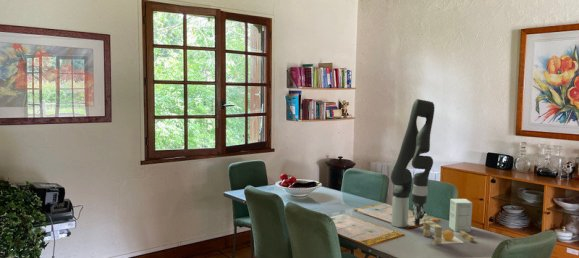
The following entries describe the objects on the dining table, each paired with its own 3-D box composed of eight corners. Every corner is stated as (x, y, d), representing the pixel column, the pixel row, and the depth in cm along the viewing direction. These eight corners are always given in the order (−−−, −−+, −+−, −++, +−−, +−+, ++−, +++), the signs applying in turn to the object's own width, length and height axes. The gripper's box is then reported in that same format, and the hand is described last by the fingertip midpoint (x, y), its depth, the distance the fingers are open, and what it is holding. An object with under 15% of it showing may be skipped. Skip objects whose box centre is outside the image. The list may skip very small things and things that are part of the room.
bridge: (422, 235, 247) (423, 219, 246) (428, 235, 248) (428, 218, 247) (435, 244, 233) (436, 227, 232) (441, 244, 234) (442, 227, 233)
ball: (440, 238, 243) (441, 228, 242) (449, 237, 244) (450, 227, 243) (446, 242, 237) (447, 232, 236) (455, 241, 239) (456, 232, 238)
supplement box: (464, 226, 265) (466, 198, 263) (471, 232, 255) (473, 202, 254) (448, 226, 264) (450, 198, 262) (454, 231, 255) (456, 202, 253)
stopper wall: (459, 235, 249) (459, 230, 249) (462, 235, 249) (462, 230, 249) (470, 242, 238) (470, 237, 238) (473, 242, 238) (474, 237, 238)
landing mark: (431, 236, 247) (431, 235, 247) (452, 235, 249) (452, 234, 249) (442, 243, 235) (442, 243, 235) (463, 242, 237) (464, 242, 237)
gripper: (431, 197, 230) (428, 229, 232) (421, 190, 243) (418, 221, 246) (417, 196, 229) (414, 229, 232) (408, 189, 242) (405, 221, 245)
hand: (416, 225), depth 239 cm, fingers closed
